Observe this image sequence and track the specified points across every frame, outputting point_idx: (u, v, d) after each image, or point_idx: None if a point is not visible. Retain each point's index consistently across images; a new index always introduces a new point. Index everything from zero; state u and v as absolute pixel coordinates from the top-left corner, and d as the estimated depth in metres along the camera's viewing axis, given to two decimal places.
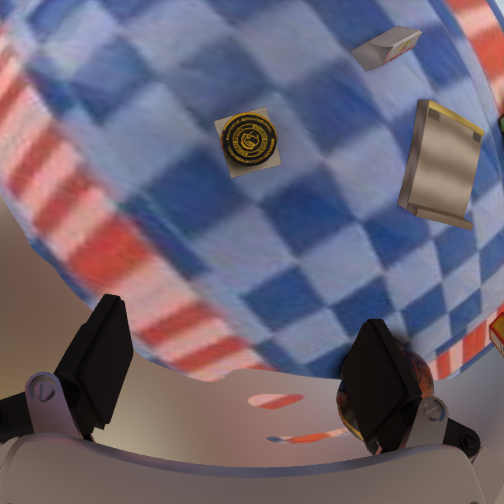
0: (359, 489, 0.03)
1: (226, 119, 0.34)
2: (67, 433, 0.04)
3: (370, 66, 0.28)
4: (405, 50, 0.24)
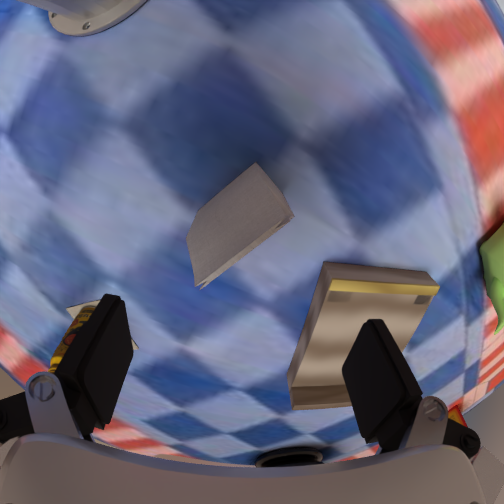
0: (359, 489, 0.03)
1: (75, 307, 0.29)
2: (67, 433, 0.04)
3: None
4: None
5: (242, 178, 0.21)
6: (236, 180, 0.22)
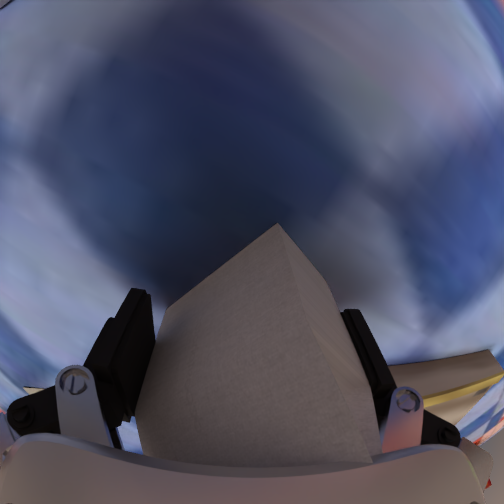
0: (359, 489, 0.03)
1: (31, 389, 0.18)
2: (94, 429, 0.04)
3: None
4: None
5: (250, 274, 0.09)
6: (236, 267, 0.11)
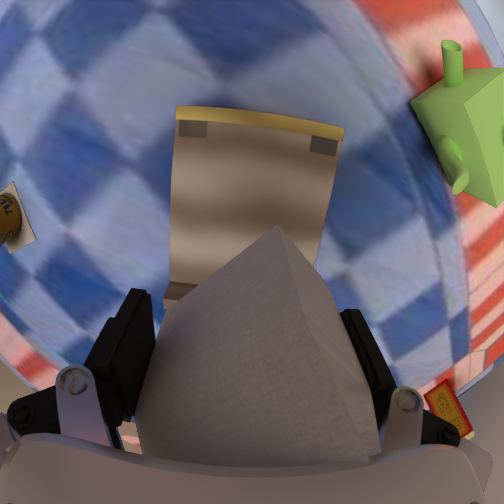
0: (359, 489, 0.03)
1: None
2: (94, 429, 0.04)
3: None
4: None
5: (249, 276, 0.09)
6: (236, 269, 0.11)
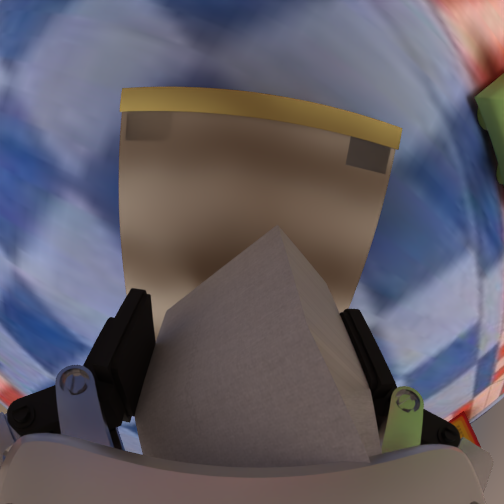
0: (359, 489, 0.03)
1: None
2: (94, 429, 0.04)
3: None
4: None
5: (250, 276, 0.09)
6: (236, 270, 0.11)
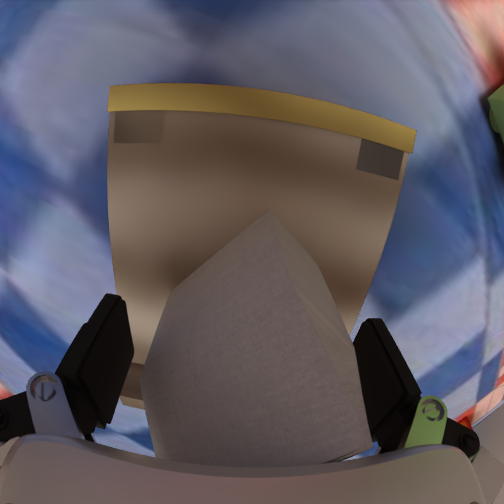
0: (359, 489, 0.03)
1: None
2: (68, 433, 0.04)
3: None
4: None
5: (245, 252, 0.11)
6: (233, 248, 0.12)
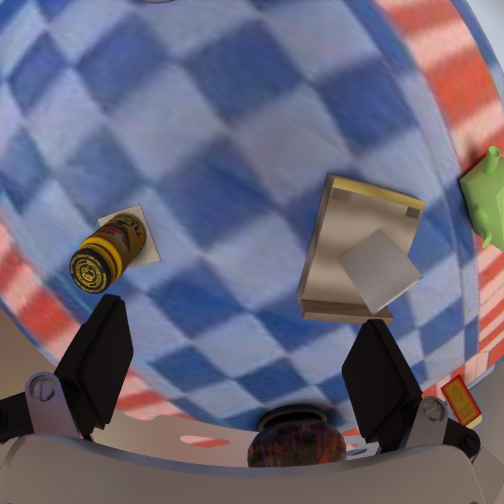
0: (359, 489, 0.03)
1: (107, 217, 0.35)
2: (67, 433, 0.04)
3: None
4: None
5: (377, 242, 0.31)
6: (369, 241, 0.32)
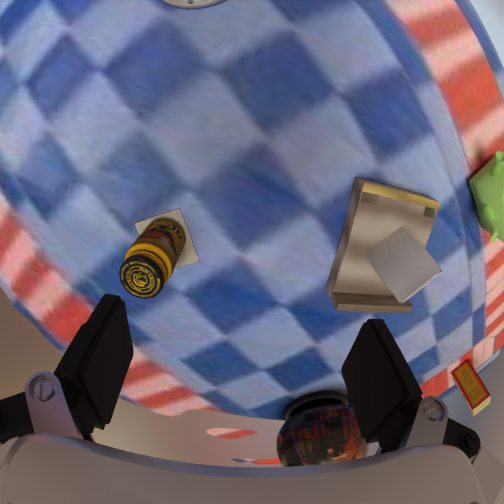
0: (359, 489, 0.03)
1: (144, 221, 0.37)
2: (67, 433, 0.04)
3: (381, 278, 0.36)
4: None
5: (400, 240, 0.34)
6: (393, 239, 0.35)
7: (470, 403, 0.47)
